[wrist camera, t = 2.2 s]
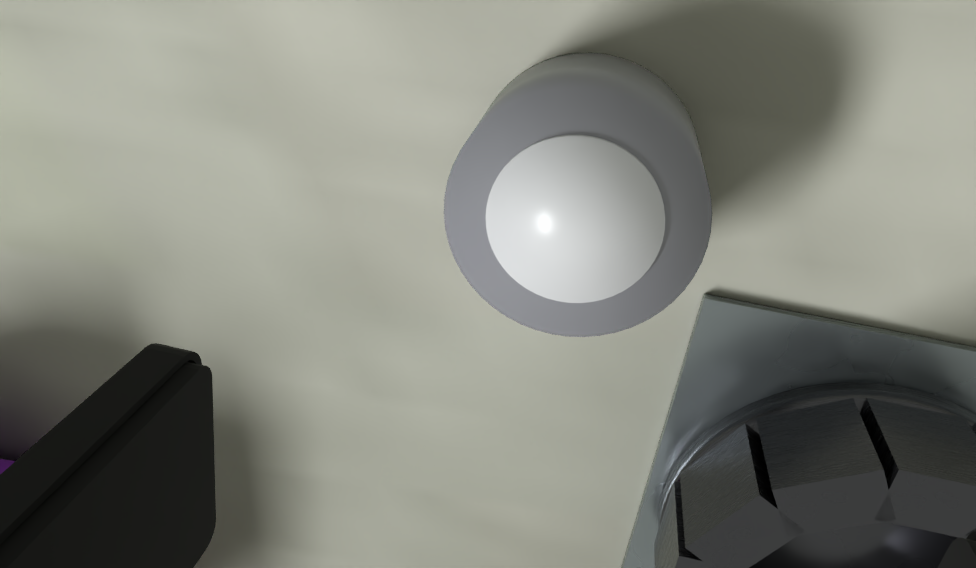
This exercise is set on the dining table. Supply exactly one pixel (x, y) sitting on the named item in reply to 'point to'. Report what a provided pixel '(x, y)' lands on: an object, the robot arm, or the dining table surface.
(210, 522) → the robot arm
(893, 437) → the lens barrel
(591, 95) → the grey rounded dome
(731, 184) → the dining table surface
